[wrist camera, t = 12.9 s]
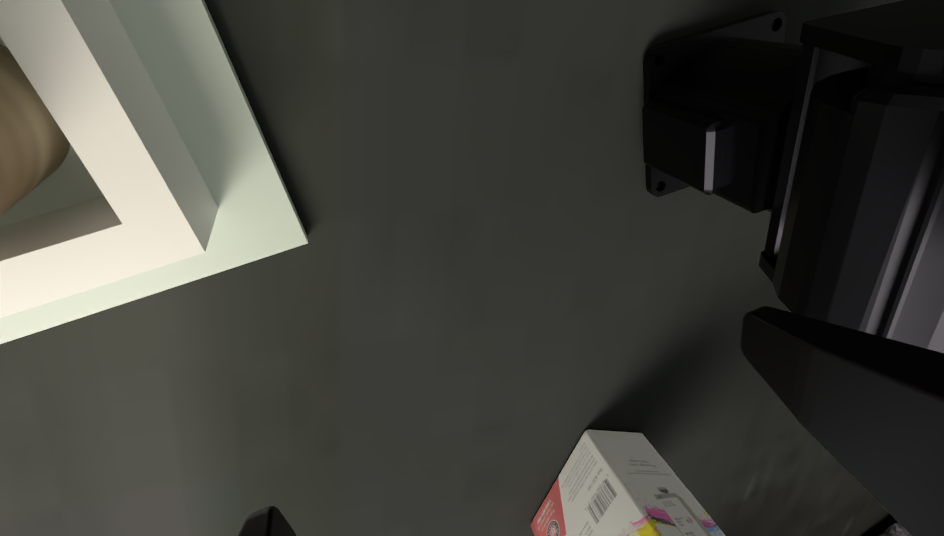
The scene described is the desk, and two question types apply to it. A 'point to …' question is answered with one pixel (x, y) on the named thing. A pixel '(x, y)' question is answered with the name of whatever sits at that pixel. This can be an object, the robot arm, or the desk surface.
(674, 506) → the ink cartridge box
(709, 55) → the robot arm
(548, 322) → the desk surface
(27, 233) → the socket
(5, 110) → the peg
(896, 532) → the geode
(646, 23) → the desk surface
